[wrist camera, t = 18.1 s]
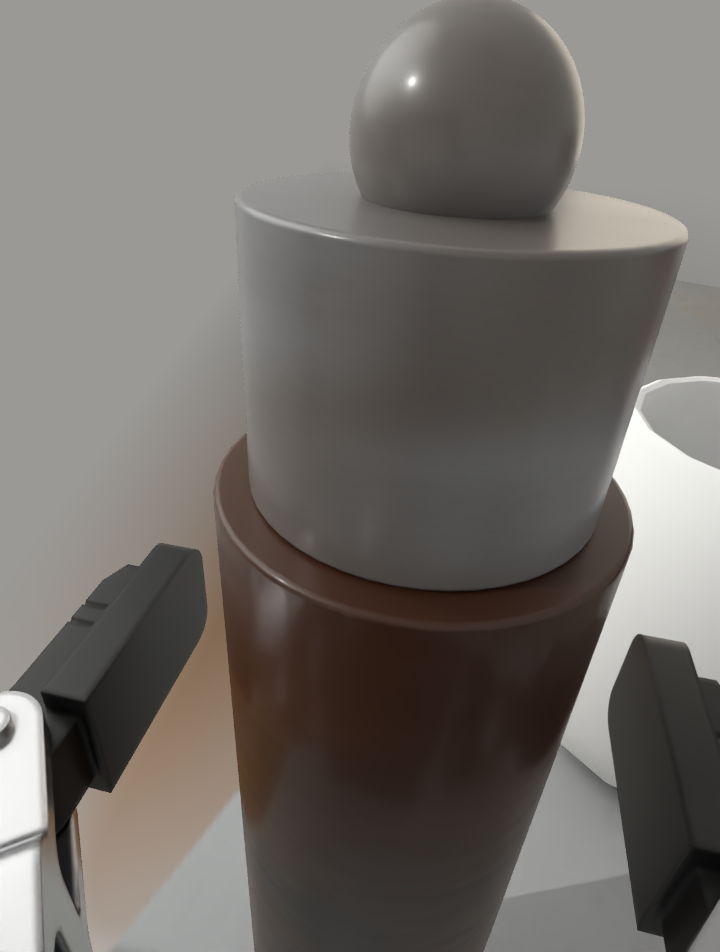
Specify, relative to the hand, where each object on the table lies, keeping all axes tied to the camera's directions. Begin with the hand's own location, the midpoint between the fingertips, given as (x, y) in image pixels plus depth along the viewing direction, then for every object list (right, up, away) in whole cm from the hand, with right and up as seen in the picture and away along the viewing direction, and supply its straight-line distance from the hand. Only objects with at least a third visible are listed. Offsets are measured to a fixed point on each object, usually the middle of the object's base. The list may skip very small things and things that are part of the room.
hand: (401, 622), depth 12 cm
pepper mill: (-1, -12, +5) cm, 14 cm away
